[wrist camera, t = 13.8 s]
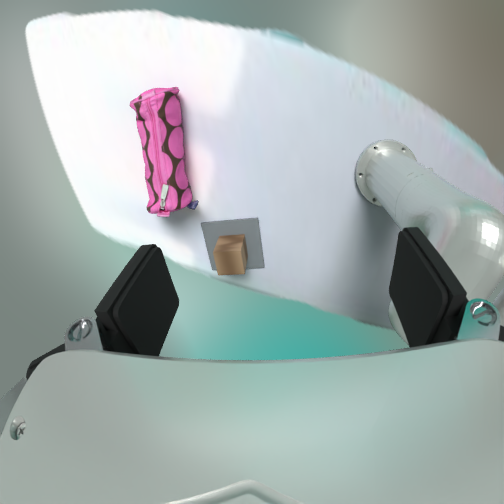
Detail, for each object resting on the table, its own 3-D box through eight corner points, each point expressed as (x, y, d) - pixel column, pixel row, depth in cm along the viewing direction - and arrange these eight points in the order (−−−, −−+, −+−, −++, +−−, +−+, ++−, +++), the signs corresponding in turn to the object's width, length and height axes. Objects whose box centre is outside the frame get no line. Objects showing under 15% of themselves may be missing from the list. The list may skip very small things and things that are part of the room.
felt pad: (257, 217, 51) (257, 218, 51) (264, 266, 57) (264, 267, 57) (201, 222, 53) (200, 223, 53) (212, 268, 59) (212, 270, 58)
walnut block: (244, 234, 53) (240, 250, 48) (248, 256, 56) (244, 274, 51) (219, 235, 54) (212, 252, 49) (223, 257, 56) (218, 275, 51)
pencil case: (205, 196, 50) (190, 219, 42) (159, 200, 51) (137, 223, 43) (189, 82, 39) (167, 81, 31) (139, 94, 40) (109, 97, 32)
